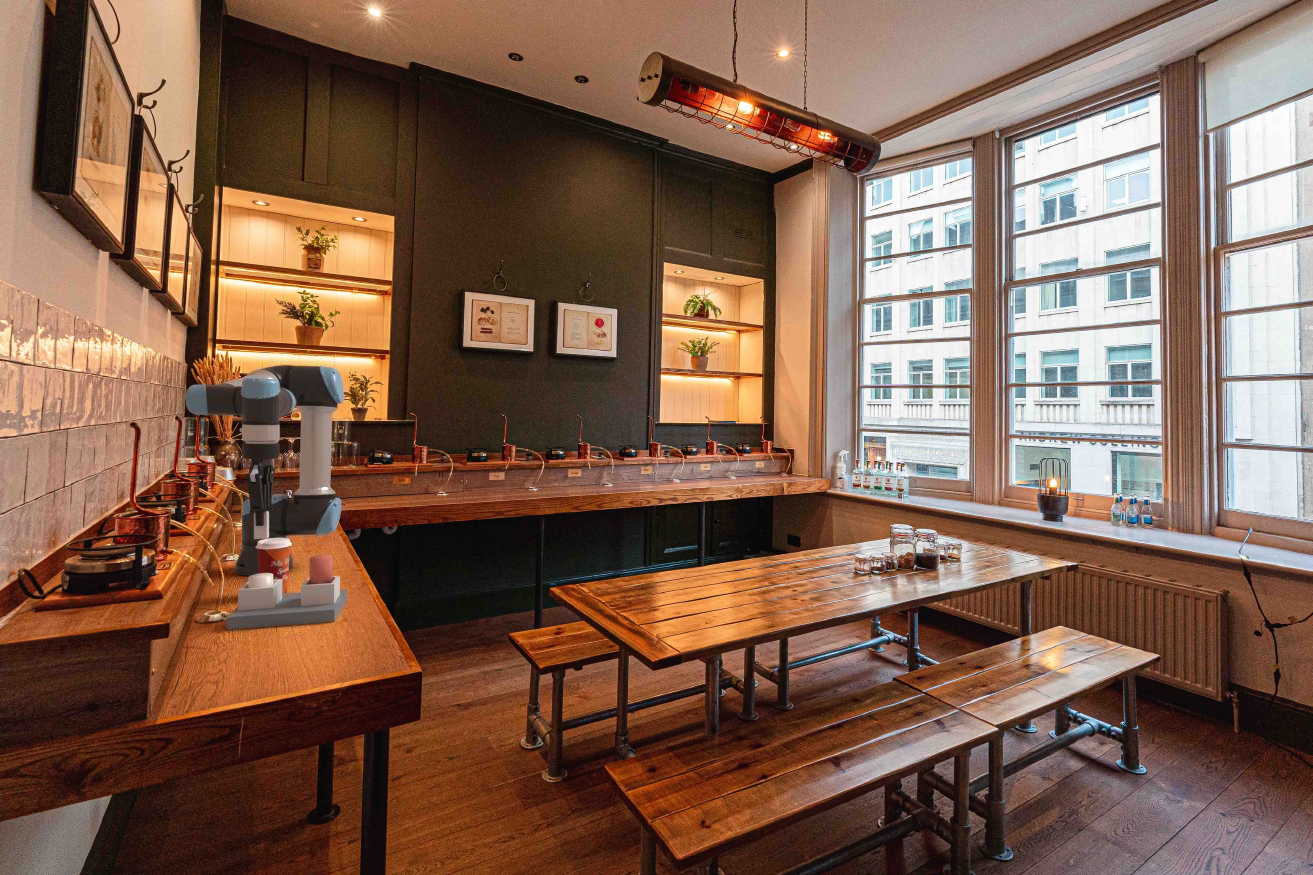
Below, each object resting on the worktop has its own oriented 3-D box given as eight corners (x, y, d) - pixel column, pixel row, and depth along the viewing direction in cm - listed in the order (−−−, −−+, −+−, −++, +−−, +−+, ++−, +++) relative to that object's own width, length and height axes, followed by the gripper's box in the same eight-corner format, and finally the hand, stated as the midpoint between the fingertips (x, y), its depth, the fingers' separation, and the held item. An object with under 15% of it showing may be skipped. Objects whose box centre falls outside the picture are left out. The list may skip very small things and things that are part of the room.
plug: (252, 601, 142) (252, 573, 142) (275, 599, 144) (275, 572, 144) (245, 608, 138) (245, 579, 137) (269, 606, 139) (269, 578, 139)
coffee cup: (278, 599, 153) (278, 544, 152) (248, 598, 153) (248, 543, 152) (298, 590, 161) (298, 537, 161) (269, 589, 161) (270, 536, 161)
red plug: (312, 582, 146) (312, 555, 146) (334, 581, 148) (334, 554, 148) (307, 588, 142) (307, 560, 141) (330, 586, 143) (330, 559, 143)
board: (250, 607, 147) (250, 576, 147) (346, 600, 154) (347, 571, 154) (226, 629, 132) (226, 595, 131) (334, 621, 139) (334, 588, 139)
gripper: (252, 440, 144) (252, 532, 145) (232, 443, 132) (233, 545, 133) (286, 440, 146) (286, 531, 148) (270, 444, 134) (271, 543, 135)
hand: (261, 537), depth 140 cm, fingers closed
